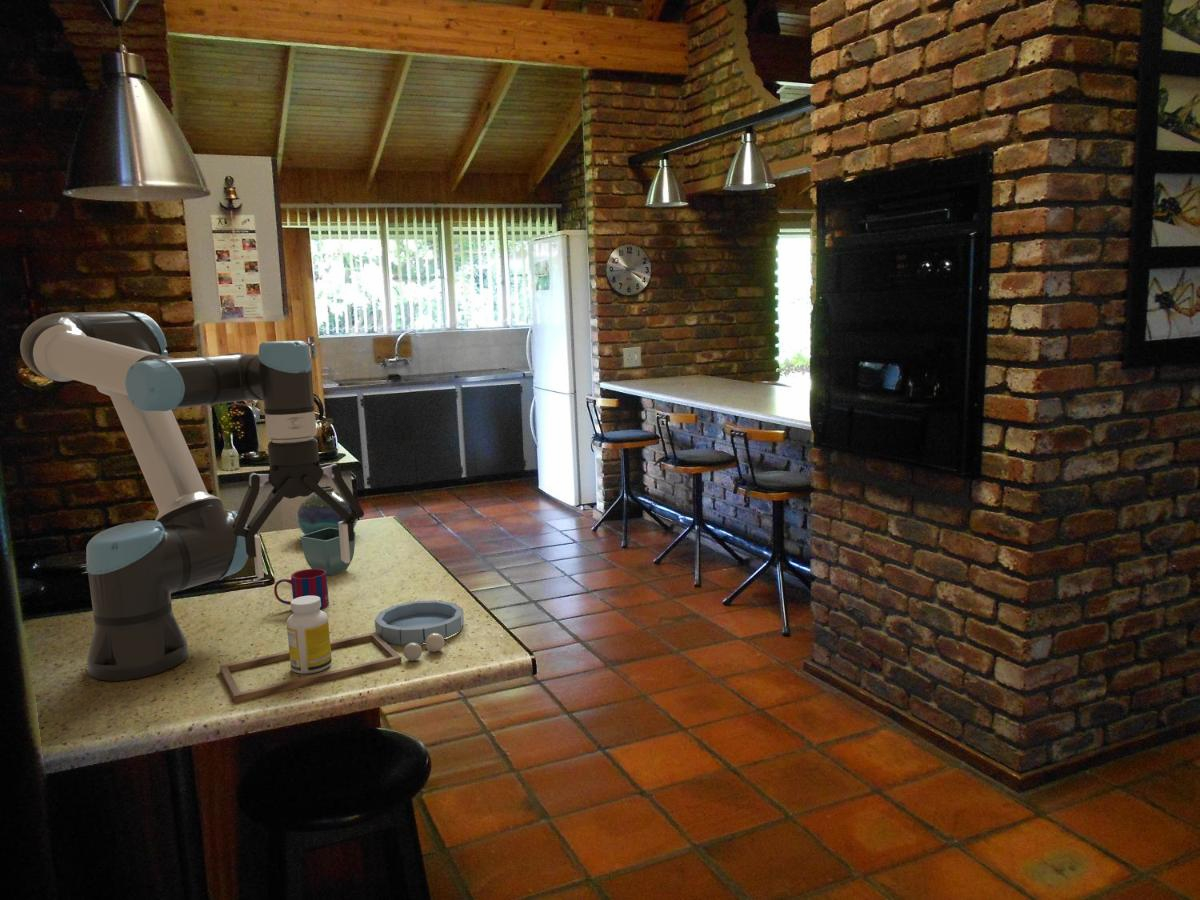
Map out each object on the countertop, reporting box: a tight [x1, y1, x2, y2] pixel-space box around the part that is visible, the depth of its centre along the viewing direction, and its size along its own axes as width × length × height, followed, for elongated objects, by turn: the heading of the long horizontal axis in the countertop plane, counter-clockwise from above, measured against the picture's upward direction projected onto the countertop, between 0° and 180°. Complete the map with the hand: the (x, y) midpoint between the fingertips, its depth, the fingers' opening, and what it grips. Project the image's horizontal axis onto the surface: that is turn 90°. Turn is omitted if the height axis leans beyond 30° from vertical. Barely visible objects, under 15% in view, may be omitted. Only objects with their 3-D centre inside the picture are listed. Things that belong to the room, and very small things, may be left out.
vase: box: [296, 485, 359, 535], centre depth 230 cm, size 15×15×13 cm
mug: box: [273, 568, 330, 611], centre depth 176 cm, size 7×10×7 cm
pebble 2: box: [425, 633, 446, 653], centre depth 151 cm, size 3×3×3 cm
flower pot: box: [299, 528, 356, 577], centre depth 199 cm, size 9×9×9 cm
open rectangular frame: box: [219, 631, 403, 703], centre depth 146 cm, size 26×14×1 cm, turn 121°
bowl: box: [374, 599, 465, 646], centre depth 162 cm, size 15×15×3 cm
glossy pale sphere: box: [403, 642, 423, 662], centre depth 148 cm, size 3×3×3 cm
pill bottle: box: [286, 596, 333, 675], centre depth 145 cm, size 6×6×12 cm
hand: (303, 568), depth 143 cm, fingers open, 13 cm apart
